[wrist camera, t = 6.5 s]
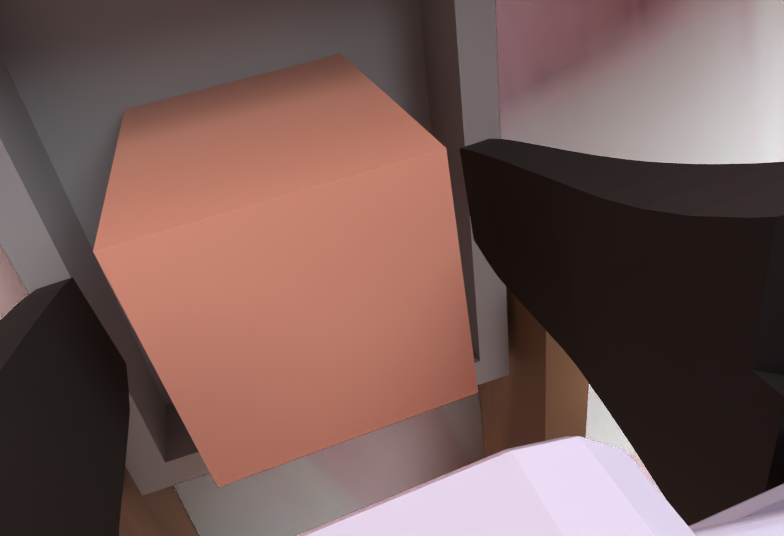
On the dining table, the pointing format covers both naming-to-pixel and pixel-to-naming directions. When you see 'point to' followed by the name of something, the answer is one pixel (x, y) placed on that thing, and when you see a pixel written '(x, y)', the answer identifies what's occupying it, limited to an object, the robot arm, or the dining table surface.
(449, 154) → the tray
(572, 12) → the dining table surface
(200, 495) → the dining table surface
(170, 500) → the caddy
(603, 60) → the dining table surface
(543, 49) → the dining table surface
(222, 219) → the brick-red block
